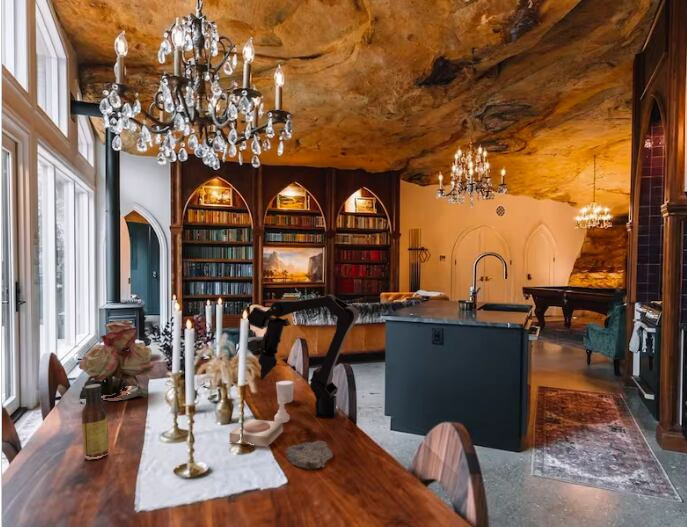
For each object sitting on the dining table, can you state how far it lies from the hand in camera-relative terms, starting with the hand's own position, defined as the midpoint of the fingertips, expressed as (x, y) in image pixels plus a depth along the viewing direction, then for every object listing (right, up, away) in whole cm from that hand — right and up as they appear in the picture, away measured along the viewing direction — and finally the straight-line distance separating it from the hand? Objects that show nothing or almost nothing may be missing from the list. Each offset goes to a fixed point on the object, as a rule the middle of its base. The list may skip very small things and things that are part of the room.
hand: (262, 374), depth 166 cm
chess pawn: (+9, -13, -12) cm, 20 cm away
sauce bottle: (-40, -14, -39) cm, 57 cm away
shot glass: (+7, -13, +9) cm, 17 cm away
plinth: (+3, -13, -26) cm, 29 cm away
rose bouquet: (-61, -13, +20) cm, 66 cm away
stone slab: (+21, -14, -40) cm, 47 cm away
